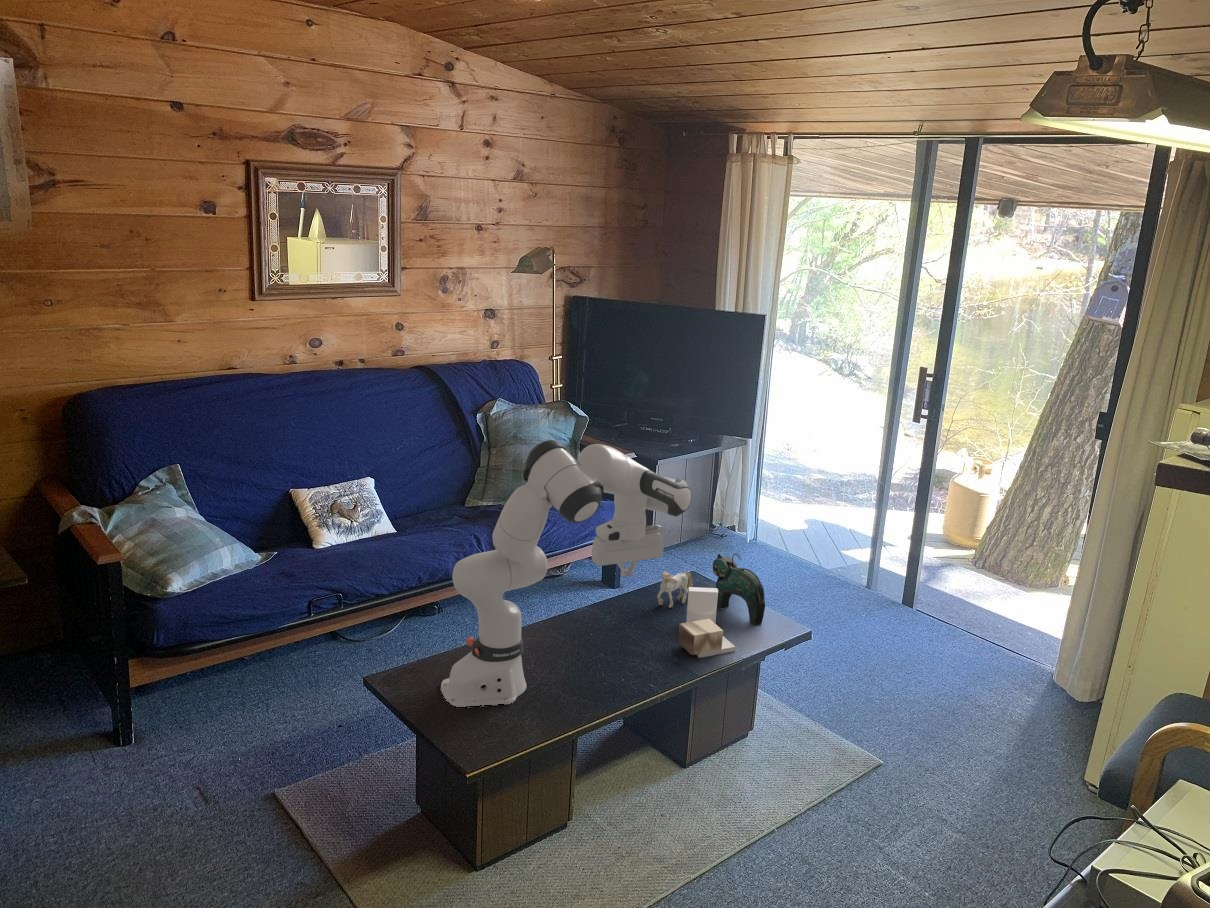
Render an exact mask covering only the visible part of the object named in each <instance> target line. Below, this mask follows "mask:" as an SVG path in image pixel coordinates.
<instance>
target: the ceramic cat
mask: <svg viewBox="0 0 1210 908" xmlns="http://www.w3.org/2000/svg"><path fill="white" fill-rule="evenodd" d="M731 556H732V557H730V556H722V555H721V554H720V553H718V554H717V556H716V559H714V560H713V562H712V573H713V574H714V575H715V576H716V577H717V580H716V583H715V588H717V589H718V599H717V607H718V608H717V609H719V608H724V609H726V608H728V607H730V605H729V604H730V598H731V597H732V595H735V596H738V597H740V598H741V599H743V601H745V603H746V605H747V609H748V617H749V619H748V620H749V624H751V625H753V626H759V625H762V623H763V619H764V617H765V616H764V615H765V610H766V603H765V601H766V600H765V590H764V587H763V584H762V582H761V580H760V578H759V577H758V575H757V574H756V573H755V572H754V571H752V570H750V569H749V568H744V567H739V566H737V565H738V564H737V563H736V562H735V560H734V556H736V557H737V558H738V559H739V560H740V561H741V560H742V558H741V556H740V555H739V554H738V553H733V554H732V555H731ZM725 607H726V608H725Z"/></svg>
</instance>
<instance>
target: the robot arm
mask: <svg viewBox="0 0 1210 908" xmlns="http://www.w3.org/2000/svg"><path fill="white" fill-rule="evenodd" d="M522 476H523V480H524V481H525V482H526V483H525V484H524V485H521V486H519V487H517V488H516V489H515V490H514V491H513V492H512V494H511V495H510V497H509V498H508V499H507V501H506V503H505V504H504V505H503V508H502V510H501V512H500V514H499V517H498V519H497V522H496V524H495V527H494V529H493V532H492V544H493V547H494V548H495V549H494V550H488V551H483V552H478V553H474V554H471V555H468V556H466V557H464V558H462V559H460V560H458V561H457V562H456V563H455V565H454V567H453V570H452V576H451V577H452V578H451V579H452V584H453V586H454V589H455V590H456V591H457V592H458V594H459V595H461V596H462V597H464V598H466V599H467V600H469V601H470V602H471V603H472V604H473V606H474V607H475V610H476V612H477V619H478V621H477V622H478V636H477V639H476V640H475V639H474V638H473V637H472V636H469V637H467V638H466V641H465V642H466V644H467V646H468V647H471V651H470V652H469V653H467V654H466V655H464V656H463V657H462V658H460V660H458V661H457V662H455V663H454V664H453V665H452V667H451V670H450V673H449V677H448V678H445V679H443V680H442V681H441V684H440V692H442V693H441V695H442V694H443V696H444V697H443V696H442V697H443V699H444V698H445V699H446V700H445V699H444V700H445V702H446V701H447V702H449V703H450V704H451V705H453V706H456V707H466V706H468V707H467V708H470V707H469V706H480V705H482V706H480V707H485V706H484V705H492V706H499V705H498V704H504V705H511V703H512V704H514V703H515V702H516V700H517V698H518V697H519V696H521V695H522V694H523V693H524V692H525V691H526V689H527V682H526V679H525V676H524V675H525V674H524V669H523V660H522V658H523V654H524V653H523V652H524V642H523V641H524V640H523V636H522V618H523V616H522V612H521V610H520V608H519V607H518V605H517V604H515V602H512V601H510V600H508V599H507V600H506V599H504V593H506V592H507V591H508V592H510V591H514V590H518V589H522V588H525V587H530V586H532V585H533V584H536V583H538V582H540V581H542V580H544V578H545V577H546V575H547V571H548V565H549V564H548V559H547V556H546V554H545V552H544V551H543V549H542V548H541V547H539V546H538V542H539V540H540V539H541V538H540V537H541V535H542V533H543V530H544V528H545V525H546V523H547V519H548V515H549V511H550V510H551V508H552V507H554V508H555V509H556V510H557V511H558V513H559V515H560V516H561V517H562V518H563V519H564V520H566V521H567V522H569V523H571V524H579V523H582V522H584V521H586V520H588V519H589V518H591V517H592V516H593V515H595V513H596V512H597V511H598V509H599V508H600V505H601V503H602V498H603V493H605V494H611V495H613V497H614V498H613V500H614V501H613V504H614V508H615V509H614V513H613V517H612V519H610V520H609V521H607V522H605V523H602V524H600V525H598V526H596V527H595V533H596V536H595V537H594V539H593V542H592V548H591V560H592V562H593V563H594V564H595V565H596V566H599V567H601V566H609V565H616V564H617V566H618V567H619V569H620V576H621V577H622V578H625V577H632V576H634V570H635V568H636V567H637V565H638V562H639V561H646V560H653V559H660V558H662V556H663V554H664V540H663V537H664V528H663V526H661V525H659V524H654V525H647V515H646V510H648V511H653V512H658V513H662V514H667V515H669V516H672V517H676V518H677V517H678V516H680V515H682V514H683V513H685V512H686V511H687V510H688V509H689V508H690V505H691V502H692V490H691V488H690V486H689V484H688V483H687V482H686V481H685V479H679V478H676V479H675V478H672V477H671V478H670V477H667V476H666V477H665V476H662V475H660V474H659V473H656V472H654V471H652V470H650V469H649V468H647V467H645V466H644V465H643V464H641V463H639V462H637V461H635V460H634V459H632V458H631V457H629V456H628V455H626V454H624V452H621V451H620V450H618V449H616V448H614V447H612V446H609V445H605V444H600V443H592V444H590V445H587V446H586V447H584V448H583V449H582V450H581V451H580V453H579V455H578V458H577V460H576V459H575V458H574V456H572V455H571V453H569V452H568V450H567V448H566V447H565V446H563V445H562V444H561V443H560V442H559V441H557V440H555V439H554V440H553V439H550V440H544V441H542V442H540V443H538V444H537V445H535V446H534V447H533V448H531V450H530V451H529V453H528V455H527V457H526V460H525V464H524V470H523V472H522ZM626 563H630V564H629V566H628V567H627V568H626V567H625V566H626ZM514 701H515V702H514ZM447 702H446V703H447ZM513 702H514V703H513ZM450 704H449V705H450ZM451 705H450V706H451ZM453 706H452V707H453Z"/></svg>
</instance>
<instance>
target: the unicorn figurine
mask: <svg viewBox="0 0 1210 908" xmlns="http://www.w3.org/2000/svg"><path fill="white" fill-rule="evenodd" d="M660 576H661V578H662V581H661V582H660V590H659V591H658V594H657V595H656V597H657V602H658V605H659V606H660V605H664V599H663V598H661V596H662V594H663V593H664V592H665V593H667V594H668V599H669V604H668V607H669V608H671V607H672V606H673V607H674V601H673V595H672V592H674V591H676V590H678V589H679V595H678V596H677V597H676V599H677V598H678V599H680V598H681V597H682V598H681V604H682V603H685V604H686V601H687V595H688V591H689V587H693V586H694V584H693V580H692V579H693V578H692V574H691V572H689V571H685V572H683V573H681V572H680V573H679V572H678V573H676V574H675V575H674V576H673V575H671V573H669V572H667V571H663V572H662V573H661V575H660ZM683 590H684V592H683ZM673 607H672V608H673Z"/></svg>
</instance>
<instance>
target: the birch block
mask: <svg viewBox="0 0 1210 908" xmlns="http://www.w3.org/2000/svg"><path fill="white" fill-rule="evenodd" d="M723 636H724V630H723V629H722V628H721V627H720V626H719V625H717V624H716V623H714V622H713V621H711V620H710V619H704V620H698V621H693V622H687V623H686V622H681V623H678V638H677V642H678V644H679V645H680V646H681V647H682V648H684V649H685V650H686V651H687V653H689V655H691V656H694V655H695V654H699V653H704V652H710V651H715V650H720V649H722V638H723Z"/></svg>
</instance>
